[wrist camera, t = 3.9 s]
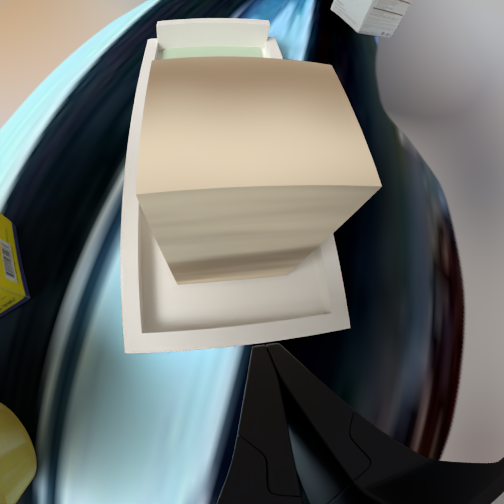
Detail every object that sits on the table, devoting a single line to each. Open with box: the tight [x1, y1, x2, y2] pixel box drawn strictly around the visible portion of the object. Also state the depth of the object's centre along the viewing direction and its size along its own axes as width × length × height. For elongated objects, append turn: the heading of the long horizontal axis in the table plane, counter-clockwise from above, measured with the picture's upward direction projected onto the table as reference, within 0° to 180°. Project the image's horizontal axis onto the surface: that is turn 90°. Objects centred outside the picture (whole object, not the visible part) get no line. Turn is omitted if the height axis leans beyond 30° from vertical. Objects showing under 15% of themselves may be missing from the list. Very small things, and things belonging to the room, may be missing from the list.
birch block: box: [136, 56, 382, 285], centre depth 12 cm, size 5×6×10 cm
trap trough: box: [120, 18, 350, 354], centre depth 18 cm, size 26×12×4 cm, turn 7°
